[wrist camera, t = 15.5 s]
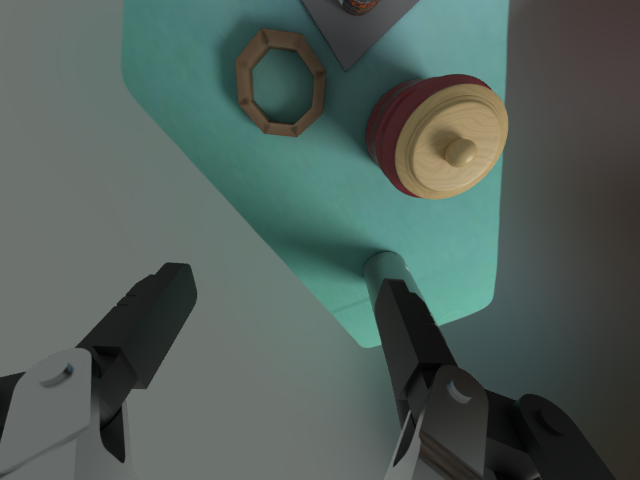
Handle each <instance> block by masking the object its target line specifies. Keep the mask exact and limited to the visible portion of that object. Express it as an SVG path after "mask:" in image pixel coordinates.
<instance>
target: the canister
mask: <svg viewBox="0 0 640 480" xmlns="http://www.w3.org/2000/svg"><path fill="white" fill-rule="evenodd" d="M507 133H508V117H507V112H506V109H505V106H504V104H503V102H502V100H501V99H500V98H499V96H498V95H497V94H496V93H494V92H493V91H492V89H491V88H490V87H489V86H488V85H487V84H486V83H484V82H483V81H481V80H480V79H478V78H476V77H473V76H469V75H464V74H451V75H445V76H441V77H432V78H428V79H415V80H410V81H406V82H403V83H401V84H399V85H397V86H395V87H394V88H392V89H391V90H389V91H388V92H387V93H386V94H385V95H384V96H383V97H382V98H381V99H380V100H379V101H378V103H377V104H376V106H375V107H374V109H373V111H372V113H371V115H370V117H369V120H368V124H367V129H366V144H367V149H368V152H369V154H370V157H371V158H372V160H373V161H374V163H375V164H376V165H377V166H378V167H379V168H380V169H381V170H382V172H383V173H384V174H385V176H386V177H387V178H388V179H389V180H390V182H391V183H392V184H393V185H394V186H395V187H396V188H397V189H398V190H399V191H401V192H403V193H404V194H407V195H409V196H412V197H417V198H427V199H444V198H449V197H452V196H455V195H458V194H460V193H462V192H464V191H466V190H468V189H469V188H471V187H472V186H474V185H475V184H477V183H478V182H479V181H480V180H481V179H482V178H483V177H484V176H485V175H486V174H487V173H488V172H489V171H490V170H491V169H492V167H493V166H494V164H495V163H496V161H497V160H498V158H499V156H500V154H501V152H502V150H503V148H504V145H505V142H506V138H507Z"/></svg>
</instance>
